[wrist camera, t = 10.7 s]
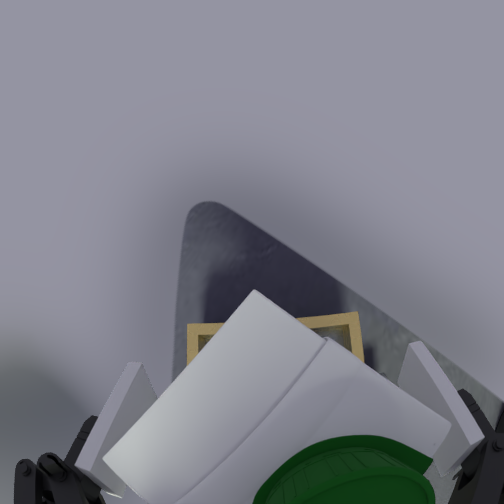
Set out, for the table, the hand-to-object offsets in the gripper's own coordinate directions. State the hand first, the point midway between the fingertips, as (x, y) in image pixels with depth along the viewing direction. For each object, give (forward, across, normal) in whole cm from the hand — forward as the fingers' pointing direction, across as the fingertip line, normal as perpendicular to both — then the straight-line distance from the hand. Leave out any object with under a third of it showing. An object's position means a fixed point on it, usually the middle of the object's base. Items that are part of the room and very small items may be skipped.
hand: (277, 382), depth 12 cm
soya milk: (+7, 0, -10) cm, 12 cm away
